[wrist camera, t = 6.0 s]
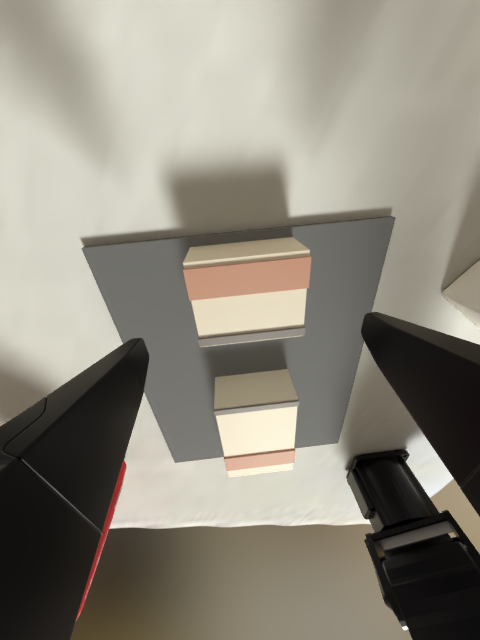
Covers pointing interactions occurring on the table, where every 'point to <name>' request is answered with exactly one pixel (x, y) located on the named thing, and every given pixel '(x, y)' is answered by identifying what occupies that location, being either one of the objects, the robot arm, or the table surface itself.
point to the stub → (248, 290)
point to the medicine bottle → (466, 294)
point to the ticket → (256, 421)
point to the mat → (249, 357)
